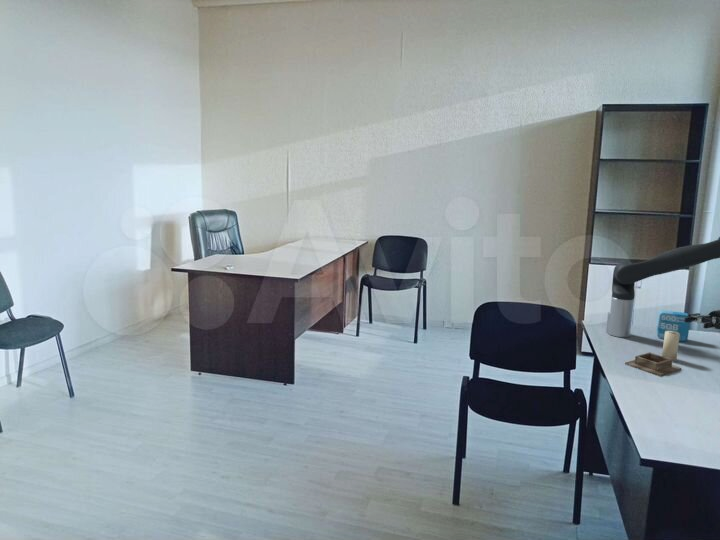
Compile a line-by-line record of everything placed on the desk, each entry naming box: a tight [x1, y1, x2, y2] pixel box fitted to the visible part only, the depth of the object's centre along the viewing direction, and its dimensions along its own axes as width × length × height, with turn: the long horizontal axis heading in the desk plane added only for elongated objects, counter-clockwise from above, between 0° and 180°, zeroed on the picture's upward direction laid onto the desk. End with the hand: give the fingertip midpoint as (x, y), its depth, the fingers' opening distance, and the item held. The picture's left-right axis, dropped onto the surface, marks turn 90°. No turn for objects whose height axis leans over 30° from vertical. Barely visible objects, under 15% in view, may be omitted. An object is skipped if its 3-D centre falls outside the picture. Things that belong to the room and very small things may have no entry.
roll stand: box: [624, 352, 682, 377], centre depth 215 cm, size 14×14×4 cm
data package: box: [656, 310, 691, 342], centre depth 249 cm, size 12×4×12 cm, turn 66°
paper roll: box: [661, 331, 680, 362], centre depth 223 cm, size 5×5×11 cm
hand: (694, 322), depth 225 cm, fingers open, 8 cm apart
